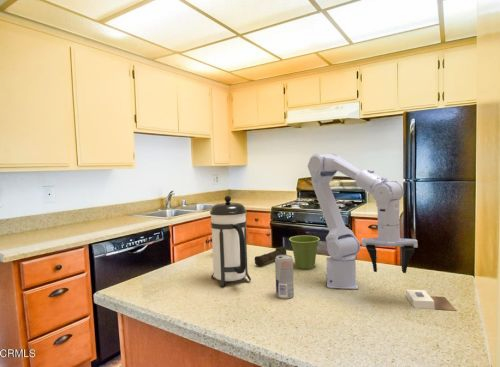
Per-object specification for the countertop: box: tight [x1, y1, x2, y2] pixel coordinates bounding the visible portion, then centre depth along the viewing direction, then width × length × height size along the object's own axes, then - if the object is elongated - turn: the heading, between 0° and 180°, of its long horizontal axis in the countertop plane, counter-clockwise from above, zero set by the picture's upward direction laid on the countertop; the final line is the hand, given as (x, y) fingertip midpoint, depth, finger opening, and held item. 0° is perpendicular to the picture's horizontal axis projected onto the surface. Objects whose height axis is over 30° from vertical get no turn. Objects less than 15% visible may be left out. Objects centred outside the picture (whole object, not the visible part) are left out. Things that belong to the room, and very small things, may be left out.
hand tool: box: [254, 246, 288, 267], centre depth 136 cm, size 19×4×5 cm, turn 135°
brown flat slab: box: [429, 295, 457, 312], centre depth 90 cm, size 5×9×1 cm, turn 166°
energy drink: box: [274, 254, 295, 300], centre depth 99 cm, size 5×5×12 cm
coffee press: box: [209, 195, 252, 288], centre depth 113 cm, size 17×16×30 cm
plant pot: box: [288, 234, 321, 270], centre depth 127 cm, size 12×12×11 cm
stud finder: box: [405, 289, 435, 310], centre depth 91 cm, size 5×8×3 cm, turn 168°
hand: (389, 271), depth 93 cm, fingers open, 7 cm apart
